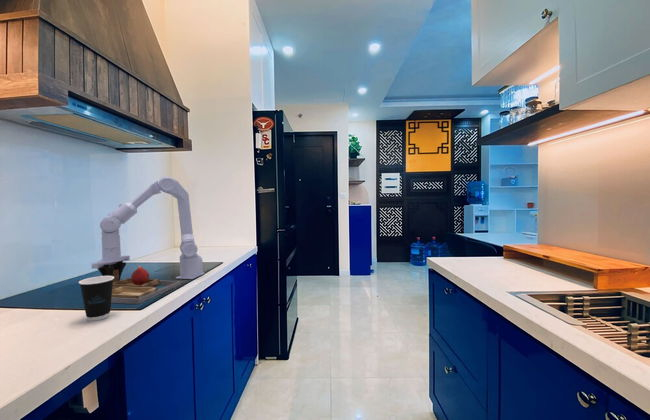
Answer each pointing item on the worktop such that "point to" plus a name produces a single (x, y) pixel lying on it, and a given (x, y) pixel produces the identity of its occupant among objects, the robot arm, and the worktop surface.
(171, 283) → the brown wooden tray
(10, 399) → the worktop surface
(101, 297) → the dixie cup
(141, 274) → the onion
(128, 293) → the oak tray
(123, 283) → the walnut tray
